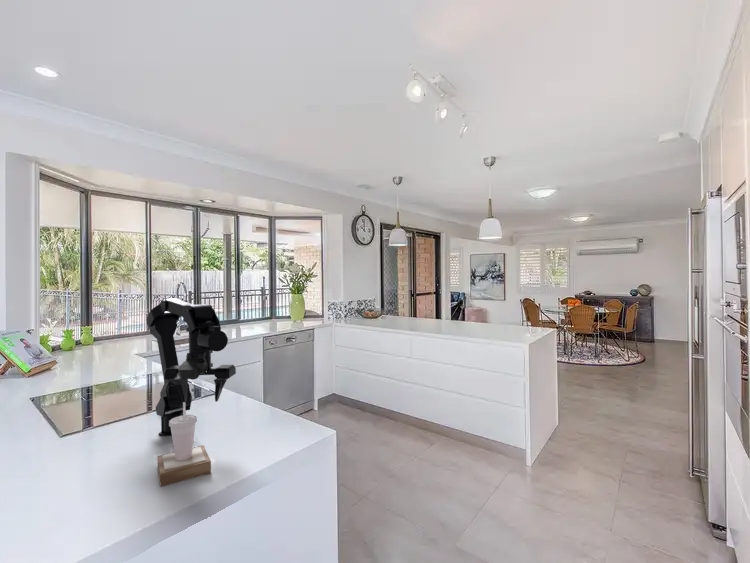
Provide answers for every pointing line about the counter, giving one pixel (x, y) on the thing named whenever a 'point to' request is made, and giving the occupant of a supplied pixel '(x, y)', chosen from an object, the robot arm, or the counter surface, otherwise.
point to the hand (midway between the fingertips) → (200, 401)
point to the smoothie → (183, 434)
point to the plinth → (183, 466)
